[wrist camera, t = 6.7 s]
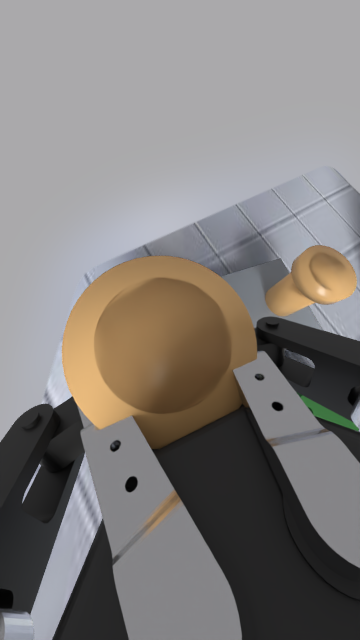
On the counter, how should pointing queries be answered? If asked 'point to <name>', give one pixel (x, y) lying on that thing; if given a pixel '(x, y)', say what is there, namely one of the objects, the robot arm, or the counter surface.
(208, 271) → the tan peg
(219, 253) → the counter surface
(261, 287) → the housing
